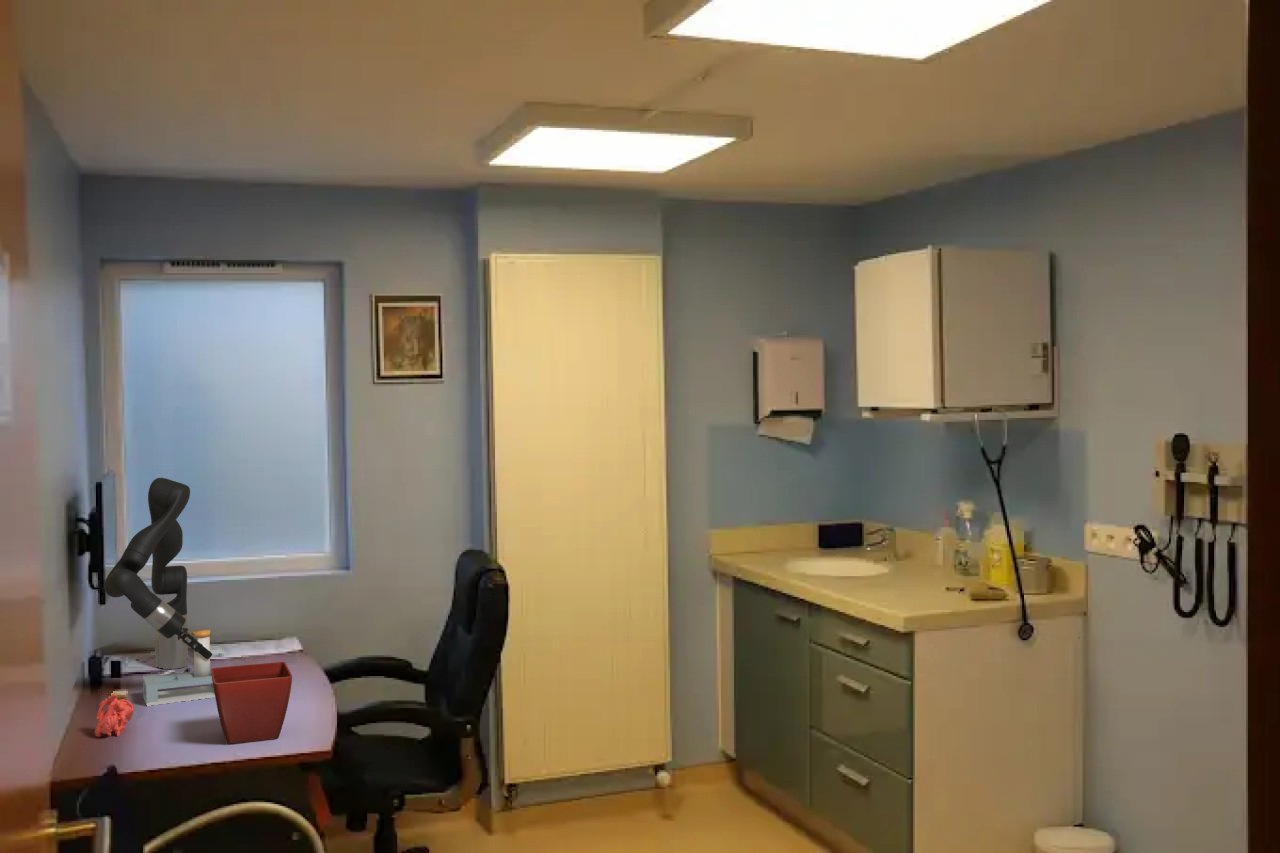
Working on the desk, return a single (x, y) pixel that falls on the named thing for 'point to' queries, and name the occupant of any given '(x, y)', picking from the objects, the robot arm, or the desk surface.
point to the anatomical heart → (113, 716)
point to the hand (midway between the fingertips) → (208, 655)
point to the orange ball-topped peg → (199, 661)
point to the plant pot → (252, 700)
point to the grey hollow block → (177, 680)
